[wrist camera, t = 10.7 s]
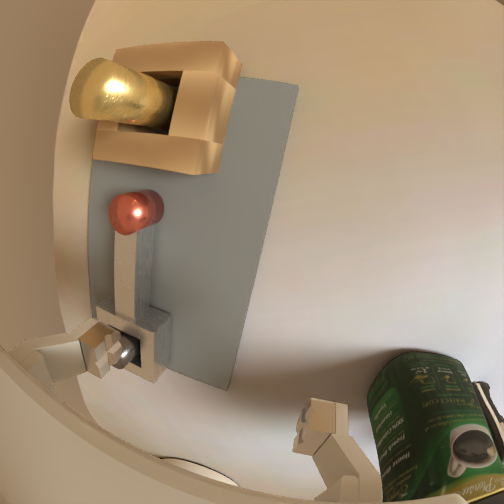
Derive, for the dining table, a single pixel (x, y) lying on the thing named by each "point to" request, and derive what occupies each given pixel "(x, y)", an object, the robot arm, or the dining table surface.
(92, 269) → the mat
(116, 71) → the pin
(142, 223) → the knob socket block
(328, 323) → the dining table surface
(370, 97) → the dining table surface
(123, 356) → the post
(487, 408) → the battery charger
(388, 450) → the coffee jar
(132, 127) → the slot block
